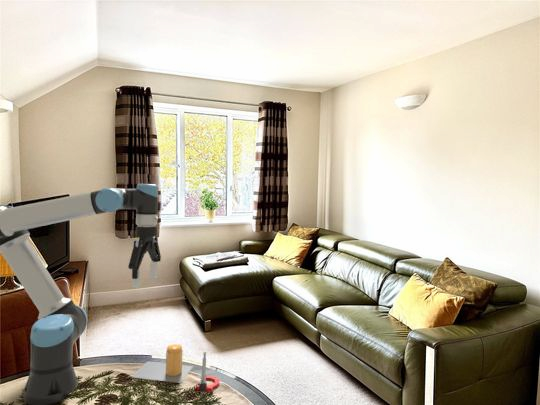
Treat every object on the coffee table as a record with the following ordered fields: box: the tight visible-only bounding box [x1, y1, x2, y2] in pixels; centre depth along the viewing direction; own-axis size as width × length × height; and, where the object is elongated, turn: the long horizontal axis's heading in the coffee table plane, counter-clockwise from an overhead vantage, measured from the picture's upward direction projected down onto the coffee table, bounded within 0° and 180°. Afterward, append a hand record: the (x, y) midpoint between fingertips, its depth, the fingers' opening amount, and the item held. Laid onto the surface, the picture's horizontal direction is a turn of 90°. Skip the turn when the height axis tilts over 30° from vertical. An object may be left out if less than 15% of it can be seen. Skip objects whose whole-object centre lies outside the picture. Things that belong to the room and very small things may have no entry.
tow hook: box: [194, 351, 220, 393], centre depth 127 cm, size 8×13×9 cm
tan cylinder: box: [165, 343, 183, 376], centre depth 131 cm, size 5×5×9 cm
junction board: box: [131, 361, 194, 384], centre depth 131 cm, size 18×12×6 cm, turn 82°
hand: (145, 282), depth 136 cm, fingers open, 13 cm apart
